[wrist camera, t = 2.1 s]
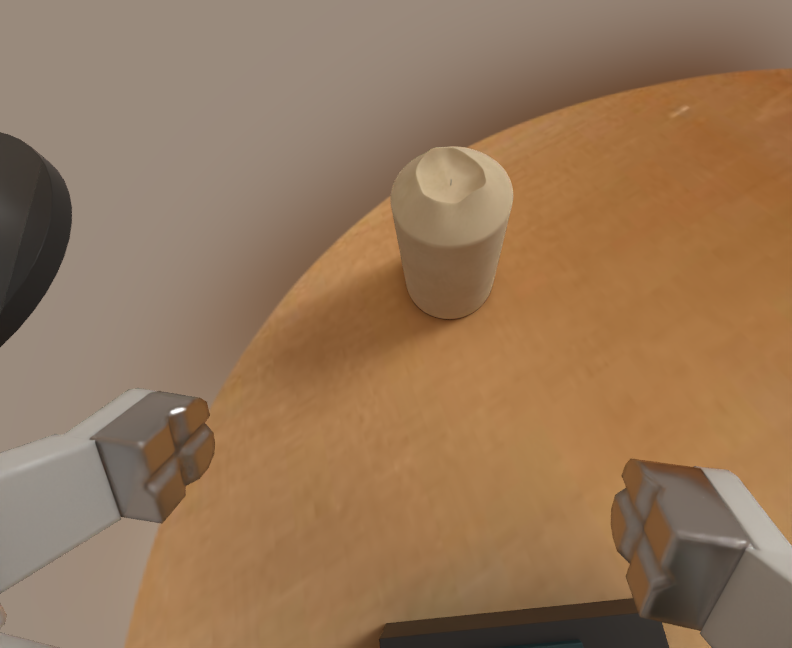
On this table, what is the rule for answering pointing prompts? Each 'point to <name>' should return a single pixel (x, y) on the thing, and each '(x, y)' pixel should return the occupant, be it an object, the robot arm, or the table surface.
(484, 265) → the candle
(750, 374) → the table surface
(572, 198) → the table surface
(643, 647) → the scale
